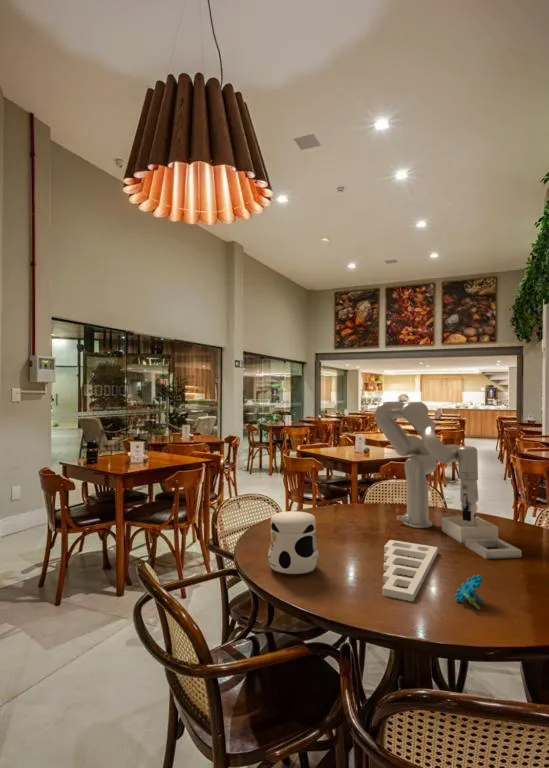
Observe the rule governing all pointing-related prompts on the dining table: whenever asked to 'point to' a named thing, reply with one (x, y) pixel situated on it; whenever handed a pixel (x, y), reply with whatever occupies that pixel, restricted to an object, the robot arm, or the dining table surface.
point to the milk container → (293, 543)
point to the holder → (406, 568)
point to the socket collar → (502, 552)
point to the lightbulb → (473, 510)
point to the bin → (468, 529)
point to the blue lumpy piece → (470, 591)
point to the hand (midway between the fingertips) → (469, 518)
